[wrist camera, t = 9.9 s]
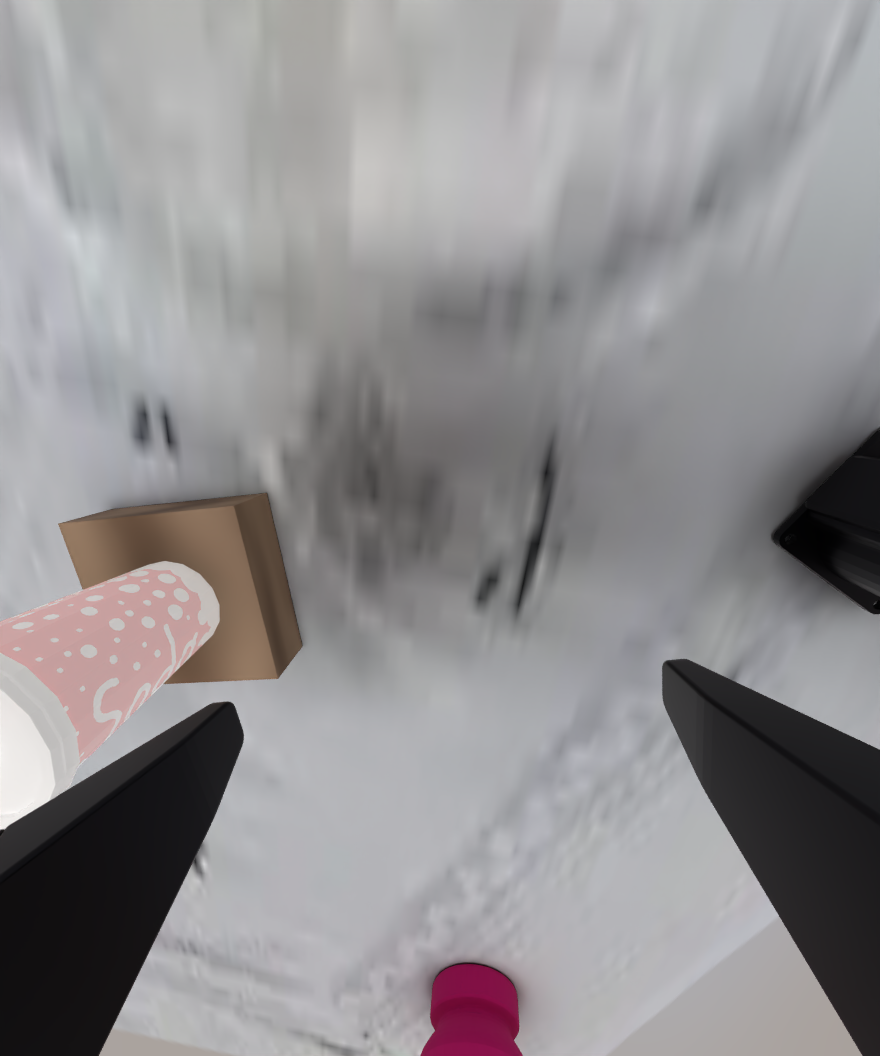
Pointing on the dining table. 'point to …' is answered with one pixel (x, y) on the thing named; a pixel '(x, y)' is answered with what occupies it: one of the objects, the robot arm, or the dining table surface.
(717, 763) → the robot arm
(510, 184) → the dining table surface
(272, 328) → the dining table surface
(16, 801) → the beverage cup
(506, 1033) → the pepper mill
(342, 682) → the dining table surface
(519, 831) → the dining table surface
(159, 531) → the walnut block
